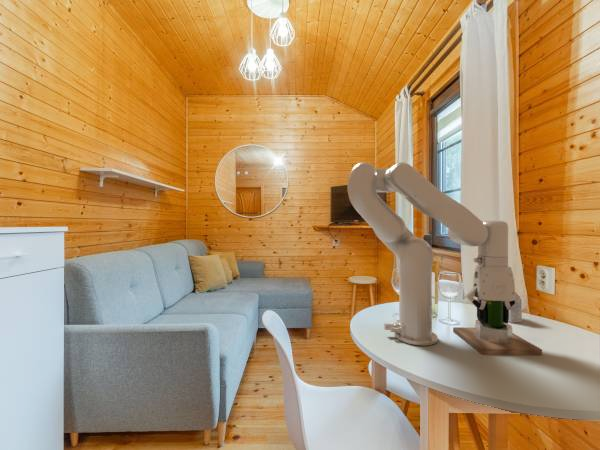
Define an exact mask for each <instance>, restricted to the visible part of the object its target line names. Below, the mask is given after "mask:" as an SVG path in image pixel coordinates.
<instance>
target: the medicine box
mask: <svg viewBox="0 0 600 450" xmlns="http://www.w3.org/2000/svg"><path fill="white" fill-rule="evenodd" d="M522 312H523V311H522V298H520V299H519V300H518V301H517V302H515V304H514V305H513V306H512V307H511V310H509V319H508V323H511V324H512V323H515V324H516V323H517V324H518V323H522V322H523V318H522V316H523V313H522Z"/></svg>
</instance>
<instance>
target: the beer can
mask: <svg viewBox="0 0 600 450" xmlns="http://www.w3.org/2000/svg"><path fill="white" fill-rule="evenodd" d="M484 310H486V323H482V324H483V325H485V326H488V327H493V328H504V301H487V302H486V305H485V307H484Z"/></svg>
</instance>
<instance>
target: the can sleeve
mask: <svg viewBox="0 0 600 450" xmlns="http://www.w3.org/2000/svg"><path fill="white" fill-rule="evenodd" d="M475 328H476V336H477V337H478V338H480V339H482V340H485V341H488V342H492V343H498V344H508V343H511V342H512V333H513V327H512V325H511V324H509V323H504V328H493V327H488V326H485V325H483V324H482V322H480V321H479V320H478V319H476V320H475Z"/></svg>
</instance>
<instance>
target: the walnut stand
mask: <svg viewBox="0 0 600 450" xmlns="http://www.w3.org/2000/svg"><path fill="white" fill-rule="evenodd" d="M452 329H453V330H452V331H453V334H455V335H457V337H459V338H461V339H462V340H463V341H464V342H465V343H467V345H469V346H470V347H472V348H473V349H474V350H476V351H477V352H478V353H479V354H481V355H503V356H504V355H505V356H507V355H508V356H509V355H510V356H512V355H513V356H522V355H523V356H542V355H543V349H541V348H540V347H539V346H536V345H535V344H533V343H532V342H530V341H527V340H526V339H524V338H522V337H520V336H519V335H517V334H515V333H513V332H512V342H511V343H508V344H498V343H492V342H488V341H485V340H482V339H480V338H478V337H477V336H476V327H461V326H460V327H453V328H452Z"/></svg>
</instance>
